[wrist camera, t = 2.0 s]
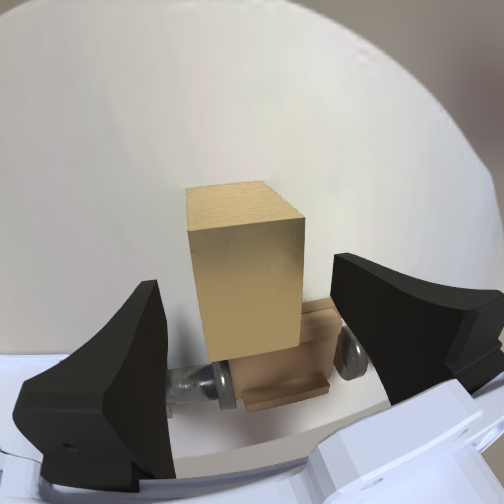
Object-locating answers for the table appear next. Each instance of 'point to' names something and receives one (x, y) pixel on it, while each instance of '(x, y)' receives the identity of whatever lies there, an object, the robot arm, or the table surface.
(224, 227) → the block
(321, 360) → the shaft stand
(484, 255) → the table surface
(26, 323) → the table surface
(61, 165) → the table surface
